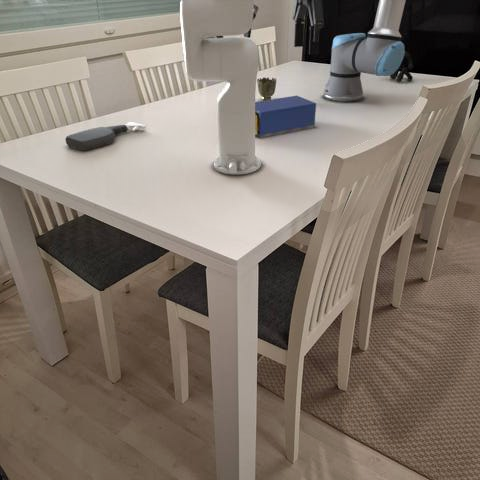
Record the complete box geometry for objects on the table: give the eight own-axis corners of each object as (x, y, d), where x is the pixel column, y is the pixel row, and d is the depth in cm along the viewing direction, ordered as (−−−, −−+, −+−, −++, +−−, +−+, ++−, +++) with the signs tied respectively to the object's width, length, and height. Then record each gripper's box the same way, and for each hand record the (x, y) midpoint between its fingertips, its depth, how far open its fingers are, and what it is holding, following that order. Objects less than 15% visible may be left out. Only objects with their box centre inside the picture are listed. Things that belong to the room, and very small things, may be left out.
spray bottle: (63, 145, 135) (128, 126, 151) (84, 153, 129) (149, 132, 145) (61, 135, 134) (127, 117, 150) (83, 143, 128) (148, 123, 144)
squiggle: (400, 92, 202) (376, 71, 205) (417, 76, 202) (392, 56, 205) (405, 81, 191) (380, 59, 194) (423, 64, 191) (397, 42, 194)
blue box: (260, 137, 138) (260, 112, 134) (243, 127, 147) (243, 103, 143) (314, 127, 146) (316, 103, 142) (295, 118, 155) (296, 95, 150)
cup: (253, 101, 174) (253, 80, 169) (261, 97, 179) (262, 76, 175) (271, 103, 171) (271, 82, 166) (279, 99, 176) (279, 78, 172)
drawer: (238, 138, 136) (238, 118, 132) (224, 129, 143) (223, 110, 140) (305, 125, 145) (306, 107, 142) (288, 117, 152) (289, 99, 149)
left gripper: (211, -25, 124) (214, 42, 133) (264, -26, 131) (263, 37, 140) (199, -25, 129) (203, 39, 138) (251, -27, 136) (251, 34, 145)
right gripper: (341, -34, 111) (333, 56, 123) (308, -35, 132) (304, 43, 143) (312, -33, 110) (307, 58, 122) (283, -34, 131) (281, 44, 142)
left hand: (233, 38), depth 139 cm, fingers open, 9 cm apart
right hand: (305, 50), depth 133 cm, fingers open, 13 cm apart
